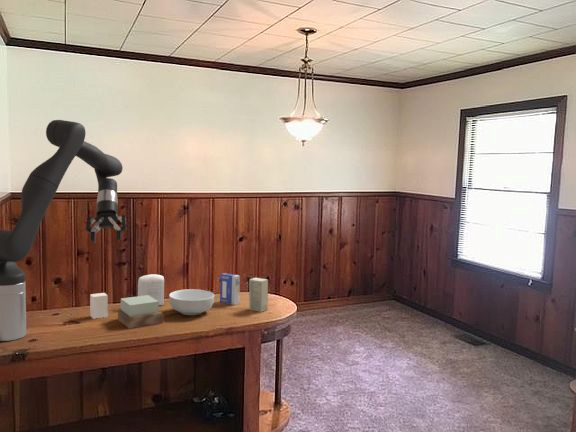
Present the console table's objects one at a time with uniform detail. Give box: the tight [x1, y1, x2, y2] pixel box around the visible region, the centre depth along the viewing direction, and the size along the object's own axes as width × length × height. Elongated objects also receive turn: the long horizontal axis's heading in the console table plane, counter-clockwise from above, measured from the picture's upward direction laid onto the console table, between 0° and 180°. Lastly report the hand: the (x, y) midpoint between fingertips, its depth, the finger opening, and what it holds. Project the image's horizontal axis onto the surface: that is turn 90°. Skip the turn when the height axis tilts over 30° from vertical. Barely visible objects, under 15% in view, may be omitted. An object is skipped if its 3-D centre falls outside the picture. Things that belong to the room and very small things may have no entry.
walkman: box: [219, 272, 241, 306], centre depth 200 cm, size 8×3×12 cm, turn 60°
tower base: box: [117, 308, 164, 329], centre depth 172 cm, size 12×12×4 cm
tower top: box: [120, 295, 160, 317], centre depth 172 cm, size 10×10×4 cm
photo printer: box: [137, 273, 165, 306], centre depth 192 cm, size 10×4×12 cm, turn 123°
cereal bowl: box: [168, 288, 215, 316], centre depth 185 cm, size 17×17×7 cm
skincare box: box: [248, 277, 269, 313], centre depth 191 cm, size 6×4×12 cm
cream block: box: [89, 292, 109, 320], centre depth 176 cm, size 5×4×8 cm
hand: (106, 241), depth 183 cm, fingers open, 8 cm apart
